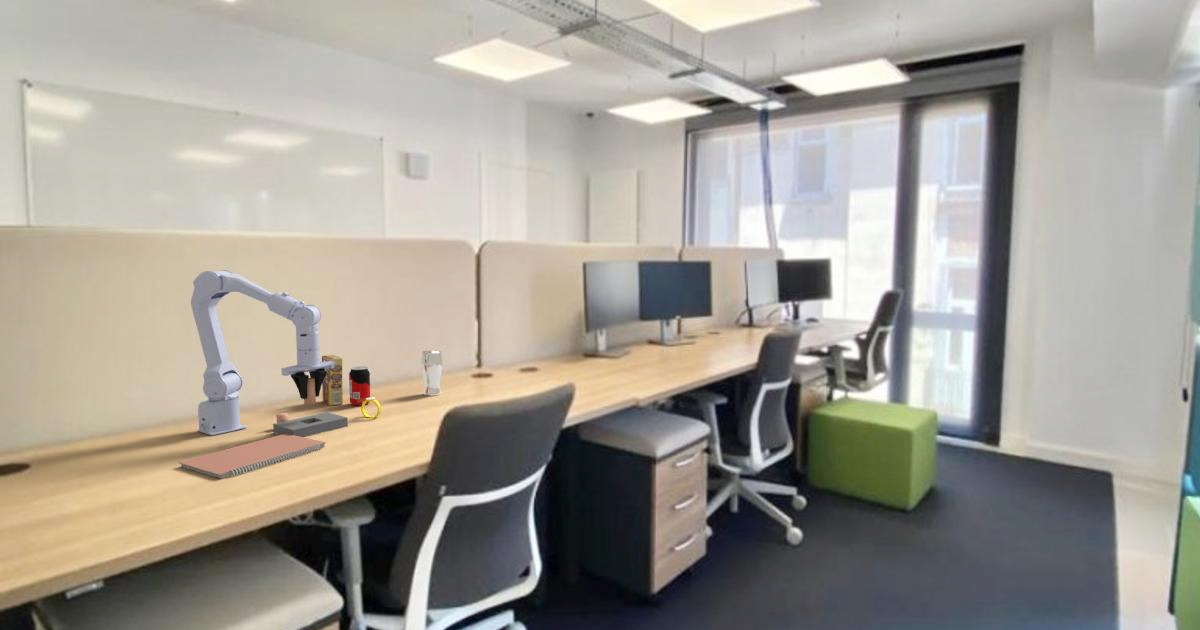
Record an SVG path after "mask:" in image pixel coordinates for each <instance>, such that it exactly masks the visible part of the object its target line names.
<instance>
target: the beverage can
mask: <svg viewBox="0 0 1200 630" xmlns="http://www.w3.org/2000/svg"><path fill="white" fill-rule="evenodd" d="M368 369H369V368H368V367H367V366H353V367H351V368H350V371H349V373H348V380H349V381H348V383H349V385H348V386H349V387H348V388H349V403H350V404H351V405H353V406H354V405H362V403H363V402H364V401H365V400H366V398H371V373H370V371H369V370H368ZM369 403H370V402H366V404H367V405H368V404H369Z"/></svg>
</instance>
